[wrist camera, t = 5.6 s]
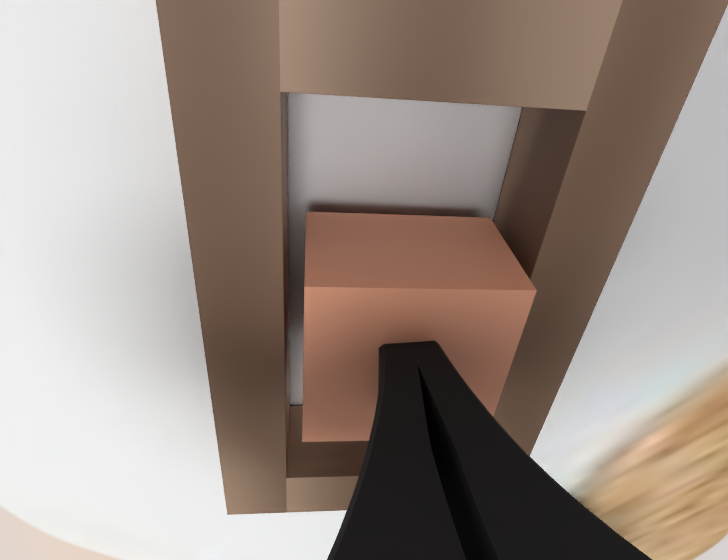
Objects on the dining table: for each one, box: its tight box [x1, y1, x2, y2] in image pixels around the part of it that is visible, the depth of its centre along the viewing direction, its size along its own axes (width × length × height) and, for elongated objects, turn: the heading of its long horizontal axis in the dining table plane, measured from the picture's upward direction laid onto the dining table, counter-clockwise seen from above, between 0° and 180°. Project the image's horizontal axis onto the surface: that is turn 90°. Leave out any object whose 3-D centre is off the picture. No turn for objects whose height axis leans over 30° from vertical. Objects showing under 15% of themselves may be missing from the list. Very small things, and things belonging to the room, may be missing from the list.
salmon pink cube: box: [302, 212, 537, 442], centre depth 13 cm, size 5×5×3 cm
